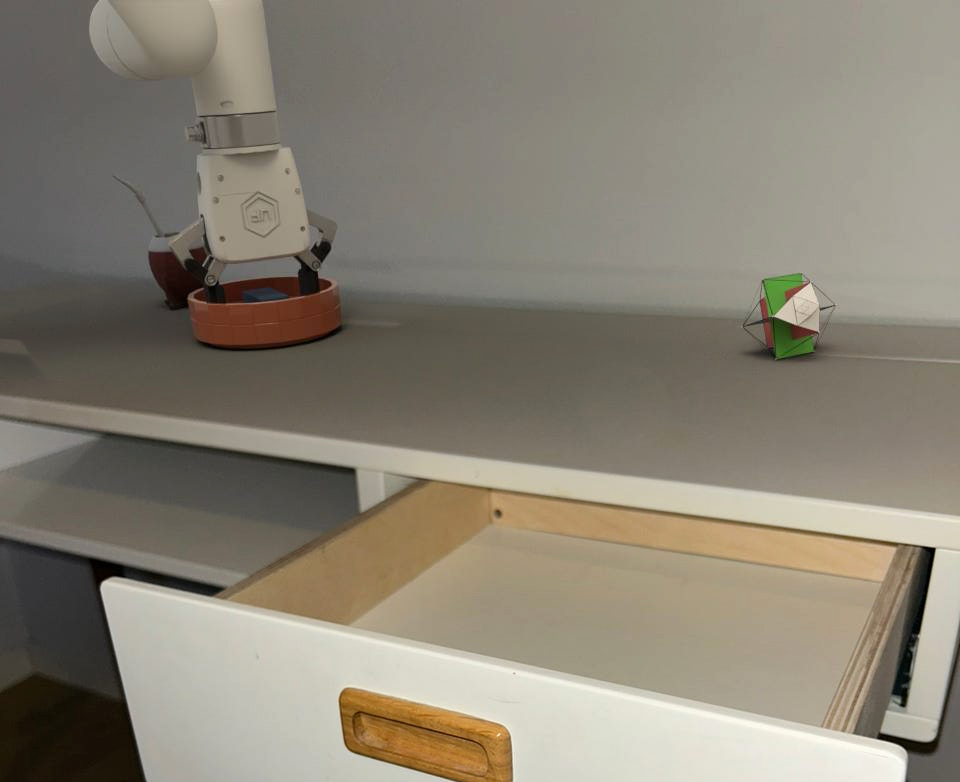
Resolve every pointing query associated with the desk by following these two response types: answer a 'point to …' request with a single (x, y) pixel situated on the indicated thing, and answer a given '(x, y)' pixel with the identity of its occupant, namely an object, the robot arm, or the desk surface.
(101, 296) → the desk surface
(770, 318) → the geometric puzzle
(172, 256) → the mate gourd
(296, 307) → the bowl
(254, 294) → the blue rectangular block
